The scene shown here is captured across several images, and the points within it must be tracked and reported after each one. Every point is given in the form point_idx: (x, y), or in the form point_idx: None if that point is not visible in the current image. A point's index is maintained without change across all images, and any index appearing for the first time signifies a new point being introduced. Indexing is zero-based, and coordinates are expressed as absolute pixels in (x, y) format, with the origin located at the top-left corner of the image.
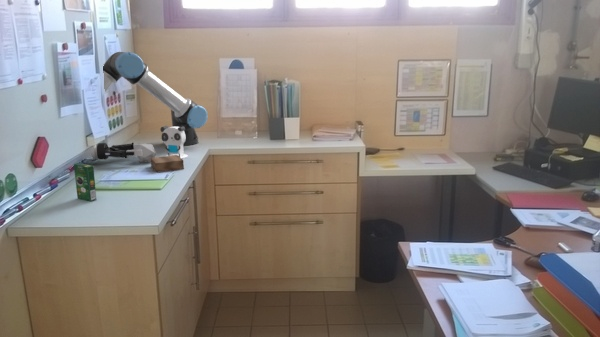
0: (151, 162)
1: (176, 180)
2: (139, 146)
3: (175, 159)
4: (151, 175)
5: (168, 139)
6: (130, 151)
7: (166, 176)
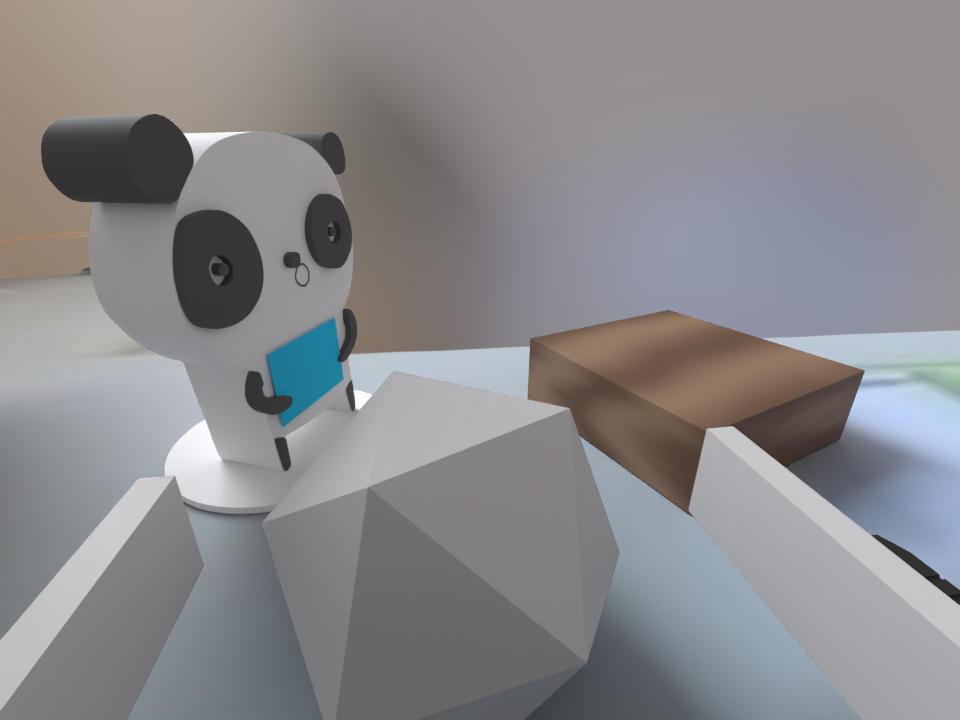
0: None
1: (887, 350)
2: (83, 676)
3: (671, 327)
4: (942, 443)
5: (259, 288)
6: (921, 603)
7: (869, 384)
